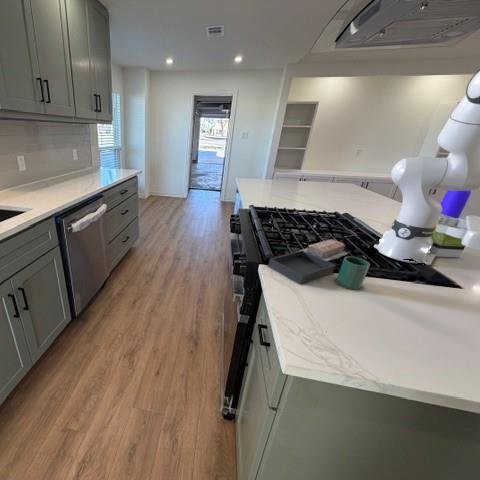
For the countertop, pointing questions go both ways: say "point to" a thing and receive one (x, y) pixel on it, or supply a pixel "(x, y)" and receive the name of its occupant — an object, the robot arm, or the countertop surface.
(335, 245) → the packaged product
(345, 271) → the enamel cup
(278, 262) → the baking tray
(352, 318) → the countertop surface
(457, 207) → the bottle
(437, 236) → the tea box
